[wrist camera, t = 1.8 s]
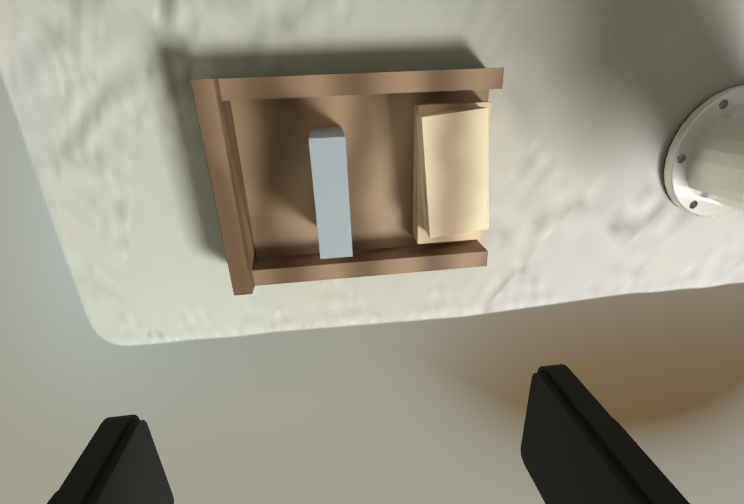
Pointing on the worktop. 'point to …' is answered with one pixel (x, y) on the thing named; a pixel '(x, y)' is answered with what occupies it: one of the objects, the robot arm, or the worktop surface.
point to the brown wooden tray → (294, 174)
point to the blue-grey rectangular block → (331, 191)
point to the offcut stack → (450, 171)
